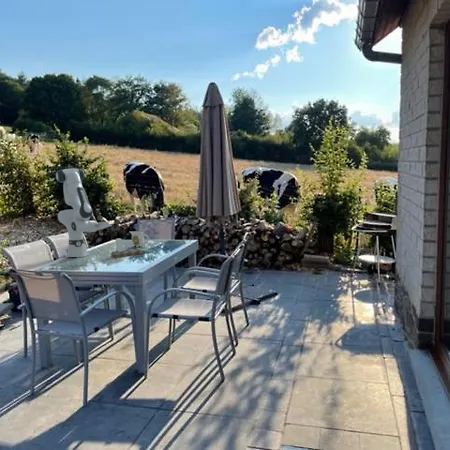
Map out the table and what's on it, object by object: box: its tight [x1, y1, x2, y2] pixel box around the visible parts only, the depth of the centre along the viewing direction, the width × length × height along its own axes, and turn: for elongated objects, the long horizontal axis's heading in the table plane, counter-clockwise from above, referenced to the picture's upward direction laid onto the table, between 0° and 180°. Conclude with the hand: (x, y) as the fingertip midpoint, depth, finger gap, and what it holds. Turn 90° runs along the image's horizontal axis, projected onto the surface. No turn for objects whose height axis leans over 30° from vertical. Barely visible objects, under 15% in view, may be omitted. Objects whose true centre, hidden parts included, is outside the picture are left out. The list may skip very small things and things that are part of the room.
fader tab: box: [115, 238, 124, 253], centre depth 379 cm, size 4×6×12 cm, turn 34°
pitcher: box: [129, 230, 149, 248], centre depth 423 cm, size 11×18×14 cm, turn 79°
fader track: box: [110, 247, 145, 259], centre depth 383 cm, size 25×10×4 cm, turn 124°
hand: (108, 226), depth 374 cm, fingers open, 8 cm apart
